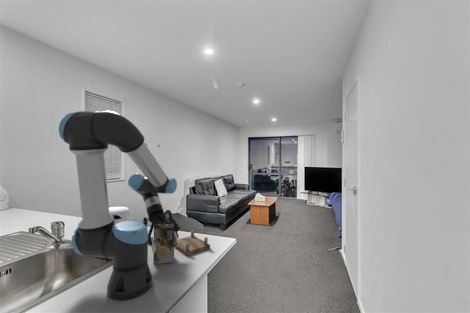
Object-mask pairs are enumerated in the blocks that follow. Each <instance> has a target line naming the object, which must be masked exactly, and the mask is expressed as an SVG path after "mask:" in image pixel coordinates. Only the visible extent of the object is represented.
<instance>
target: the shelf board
mask: <svg viewBox="0 0 470 313" xmlns="http://www.w3.org/2000/svg"><path fill="white" fill-rule="evenodd" d="M203 239H204V240H203ZM203 239H200V238H199V237H197V236H195V230H190V236H186V237H183V238H178V241H179V245H178V246H177V247H176V245H175V242H174V247H175V248H174V249H176V250H177V251H178V250H179V251H178V252H180V253H181V254H182V255H183V256H185V257H188V256H191V255H195V254H197V253H201V252H204V251H207V250H210V249H211V244H209V243H208V239H209V238H208V237H204V238H203Z"/></svg>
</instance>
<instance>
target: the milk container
mask: <svg viewBox="0 0 470 313" xmlns="http://www.w3.org/2000/svg"><path fill="white" fill-rule="evenodd" d="M109 214H110V215H112V216H113V217H114V222H115V225H116V224H117V223H119V222H123V221H130V209H129V207H128V206H110V207H109Z"/></svg>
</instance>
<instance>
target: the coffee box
mask: <svg viewBox="0 0 470 313" xmlns="http://www.w3.org/2000/svg"><path fill="white" fill-rule="evenodd" d="M153 240H154V243H155V247H156V251H155V253H153V265H159V264H166V263H175V248H174V224H171V223H170V224H158V225H154V228H153Z"/></svg>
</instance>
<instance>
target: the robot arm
mask: <svg viewBox="0 0 470 313" xmlns="http://www.w3.org/2000/svg"><path fill="white" fill-rule="evenodd" d="M58 134H59V137H60V139H62V141H63V142H64V143H66V144H67V145H68V148H69V152H71V153H72V154H74V155H75V160H76V169H77V170H76V171H77V179H78V189H79V190H78V191H79V198H80V199H79V200H80V208H81V216H82V219H81V221H80V222H78V224H77V227H76V229H75V230H74V231H73V233H74V234H72V236H71V246H72V249H73V251H74V252H75V253H76V254H78V255H80V256H85V257H89V258H91V257H92V258H101V259H103V258H104V259H109V260H110V259H112V271H111V274H110V277H109V280H108V283H107V286H106V294H107V297H109V298H110V299H112V300H116V301H122V300H123V301H124V300H125V301H126V300H131V299H134V298H137V297H139V296H141V295H143V294H145V293H146V292H147V291H149V290H150V289H151V287H152V285H153V274H152V272H151V269H150V266H149V262H148V256H149V255H148V253H149V252H148V251H149V250H148V248H149V247H150V248H151V252H152V254H154V253H155V251H156V247H155V243H154V236H152V233H153V232H154V225H162V224H174V242H175V245H176V247H177V246H178V245H179V241H178V239H180V237H179V236H180V235H179V234H178V232H179V231H180V229H181V227H180V226H179V225H178V223H177V221H175V219H174V218H173V215H172V214H171V213H170V212H169V213H168V214H166V213H165V212H164V208H163V206H162V203H161V202H162V201H161V199H160V197H159V194H166V195H167V194H168V195H169V194H174V193H175V192H176V191H177V189H178V188H177V186H178V182H177V180H176V178H173V177H169V176H168V175H167V174H166V172H165V170H163V168H162V167H161V165H160V163H159V162H158V161H157V159H156V158H155V156H154V154H153V153H152V152H151V150H150V149H149V147H148V145H146V143H145V136H144V135H143V133H142V132H141V130H139V128H138V127H137V126H136V125H135V124H134V123H133V122H132V121H130V120H129V119H128V118H126V117H125V116H123V115H122V114H119V113H117V112H115V111H111V110H102V111H100V110H99V111H95V110H93V111H92V110H91V111H90V110H88V111H87V110H80V111H73V112H70V113H67V114H66V115H65V116H64V117H62V119H61V120H60V122H59V126H58ZM109 146H114V147H116V148H117V149H118V150H120V152H121V153H124V154H126V155H127V156H128V157H129V158H130V159H131V160H132V162H133V163H134V165H136V167H137V168H138V169H139V170H140V171H141V173H142V174H140V173H137V172H136V173H134V174H132V175H131V176H129V179H128V181H127V185H128V186H129V187H130V188H131V190H132V191H134V192H136V193H137V194H138V195H140V196H141V197H142V199H143V202H144V207H145V209H146V213H147V214H146V215H147V216H148V217H143V219H142V222H140V221H136V220H129V221H123V222H119V223H117V224H116V225H115V222H114V217H113V216H112V215H110V214H109V206H110V205H109V193H108V186H107V172H106V171H107V170H106V163H105V162H106V161H105V153H106V152H107V151H108V150H109ZM148 222H150V223H151V224H150V228H149V230H148Z"/></svg>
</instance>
